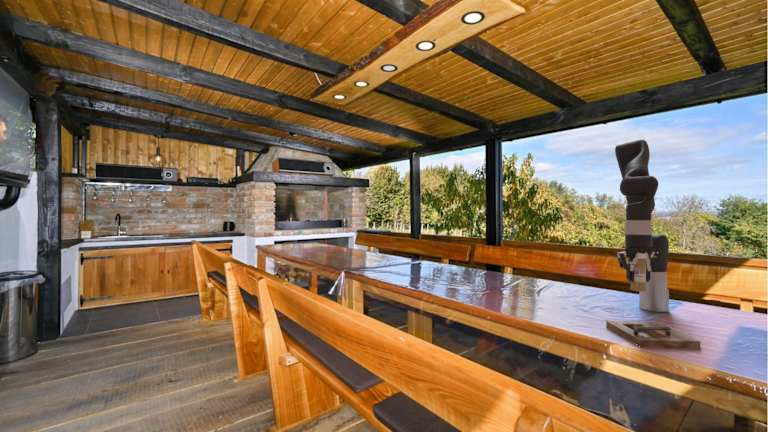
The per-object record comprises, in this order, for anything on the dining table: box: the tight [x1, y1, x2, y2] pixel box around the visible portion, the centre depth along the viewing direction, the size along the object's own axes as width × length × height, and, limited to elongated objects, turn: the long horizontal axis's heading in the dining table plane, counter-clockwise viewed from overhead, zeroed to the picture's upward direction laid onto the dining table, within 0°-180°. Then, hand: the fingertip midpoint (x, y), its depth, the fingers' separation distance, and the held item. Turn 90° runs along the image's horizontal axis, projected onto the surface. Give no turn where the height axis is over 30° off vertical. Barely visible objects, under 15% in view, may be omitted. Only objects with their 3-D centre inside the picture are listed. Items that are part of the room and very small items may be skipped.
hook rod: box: [633, 325, 672, 336], centre depth 108 cm, size 11×1×3 cm, turn 85°
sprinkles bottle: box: [629, 253, 646, 292], centre depth 115 cm, size 5×5×14 cm
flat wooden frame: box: [606, 320, 701, 350], centre depth 112 cm, size 18×18×2 cm
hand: (638, 281), depth 115 cm, fingers closed on sprinkles bottle, 4 cm apart
